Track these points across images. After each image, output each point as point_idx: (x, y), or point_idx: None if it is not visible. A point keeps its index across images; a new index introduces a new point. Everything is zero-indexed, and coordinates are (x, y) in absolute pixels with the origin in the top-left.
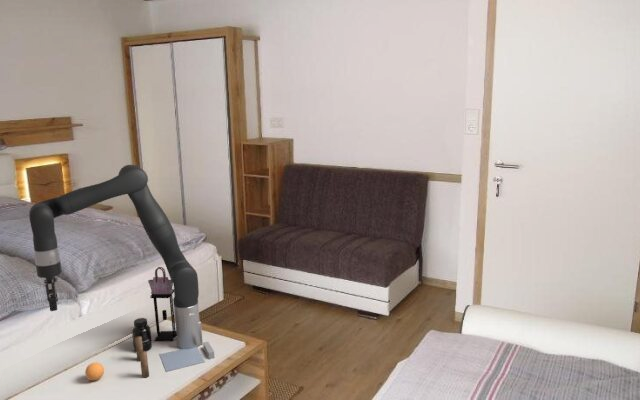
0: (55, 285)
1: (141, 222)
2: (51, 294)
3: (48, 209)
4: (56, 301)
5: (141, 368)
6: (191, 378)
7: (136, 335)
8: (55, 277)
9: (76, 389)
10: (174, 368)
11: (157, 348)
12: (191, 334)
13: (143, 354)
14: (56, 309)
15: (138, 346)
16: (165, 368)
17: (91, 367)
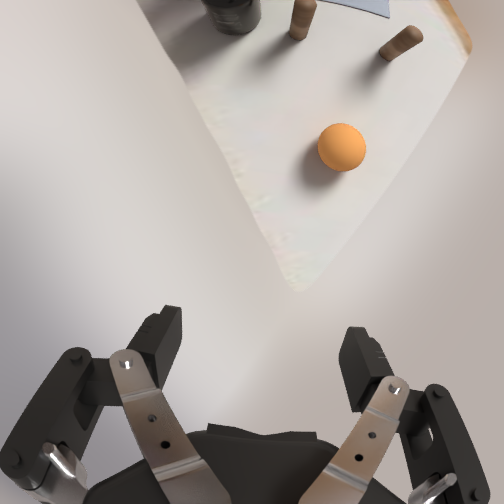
0: (368, 481)
1: None
2: (163, 373)
3: None
4: (180, 312)
5: (399, 54)
6: (433, 6)
7: (250, 5)
8: (28, 412)
9: (356, 197)
10: (385, 2)
11: None
12: None
13: (422, 37)
14: (363, 331)
15: (312, 18)
16: (376, 12)
17: (358, 156)
